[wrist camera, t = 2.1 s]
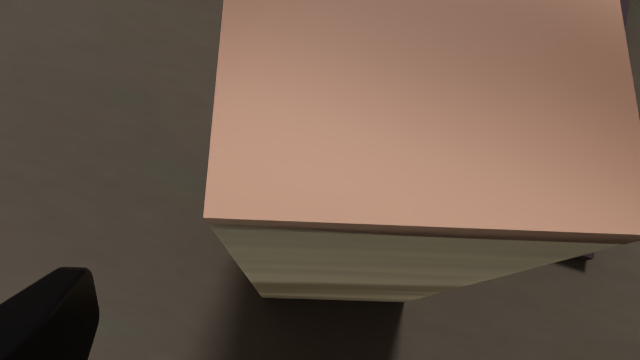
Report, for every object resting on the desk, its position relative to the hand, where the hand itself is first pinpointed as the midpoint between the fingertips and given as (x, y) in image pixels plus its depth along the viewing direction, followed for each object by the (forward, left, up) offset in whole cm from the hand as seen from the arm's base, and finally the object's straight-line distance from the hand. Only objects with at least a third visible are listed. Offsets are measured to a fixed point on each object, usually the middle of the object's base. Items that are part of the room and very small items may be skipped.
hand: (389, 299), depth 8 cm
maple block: (+3, -2, -10) cm, 11 cm away
